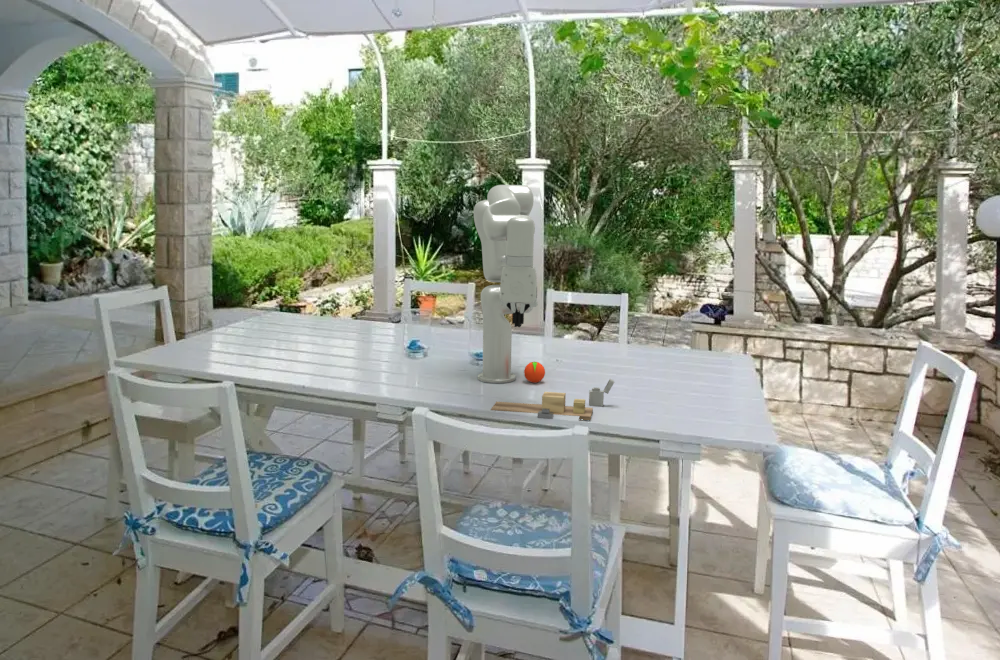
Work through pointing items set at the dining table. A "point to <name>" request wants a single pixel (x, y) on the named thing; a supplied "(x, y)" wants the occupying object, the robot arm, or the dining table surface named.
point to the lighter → (599, 394)
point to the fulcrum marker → (545, 414)
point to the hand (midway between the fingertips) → (518, 326)
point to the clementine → (534, 372)
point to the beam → (574, 410)
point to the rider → (554, 401)
